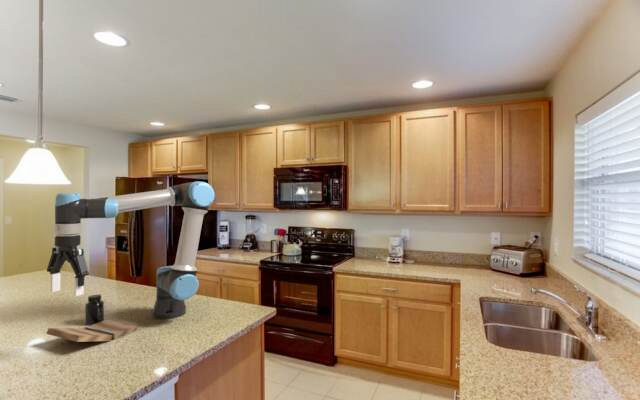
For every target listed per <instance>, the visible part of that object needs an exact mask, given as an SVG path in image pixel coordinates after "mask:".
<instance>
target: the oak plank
mask: <svg viewBox="0 0 640 400" xmlns="http://www.w3.org/2000/svg"><path fill="white" fill-rule="evenodd" d="M46 335H49V336H53V337H56V338H61V339H65V340H68V341H72V342H76V343H79V342H80V343H81V342H87V343H88V342H89V343H90V342H111V341H112V339H111V338H112V335H109V334H105V333H100V332H96V331H92V330H88V329H84V328H80V327H79V328H76V327H73V328H72V327H68V328H67V327H66V328H64V327H62V328H61V327H49V328H48V329H47V332H46Z"/></svg>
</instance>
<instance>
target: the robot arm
mask: <svg viewBox="0 0 640 400" xmlns="http://www.w3.org/2000/svg"><path fill="white" fill-rule="evenodd" d="M214 200H215V190H214V188H213V187H212V186H211V185H210V184H209V183H207V182H205V181H198V180H197V181H193V182H192V181H191V182H189V181H188V182H185V183H181V184H177V185H172V186H167V188H166V189H159V190H152V191H151V190H150V191H144V192H143V191H142V192H135V193H128V194H121V195H114V196H113V195H112V196H106V197H99V198H83V197H82V194H81V193H74V192H73V193H70V192H69V193H65V192H63V193H62V192H60V193H57V194H56V196H55V202H54V204H55V205H54V224H55V225H54V235H56V236H55V237H54V247H52V248H51V249H52V250H51V255H50V258H49V262H48V265H47V268H46V272H47V273H49V274H50V292H51V293H54V292H60V291H61V269H62V268H63V265H64V263H65V262H67V263H68V264H70V266H71V268H72V271H73V272H74V274H75V277H74V292H73V293H74V297H78V296H82V295H84V293H85V290H84V289H85V287H84V286H85V277H86V276H89V275H90V271H89V269H88V268H89V267H88V265H87V261H86V257H85V254H84V252H85V250H84V249H83V248H78V246H80V245H81V237H82V236H81V235H80V234H81V233H82V229H81V228H82V225H81V224H82V221H81V220H82V219H113V218H114V219H115V218H116V217H118V214H119V213H125V212H127V213H128V212H131V211H138V210H145V209H151V208H158V207H163V206H171V207H175V206H176V207H177V206H181V209H182V210H183V213H184V214H183V219H182V225H181V230H180V235H179V239H178V245H177V251H176V256H175V261H174V264H173V265H167V266H161V267H160V266H159V267H158V268H157V269H156V274H155V276H156V289H155V290H156V291H155V292H156V298H155V302H154V305H153V308H152V311H151V317H152V318H155V319H161V320H165V319H166V320H167V319H173V318H174V319H175V318H177V317H181V316H183V315H185V314H186V313H187V305H186V303H185V301H186V300H188V299H191V298H192V297H193V296H194V295H196V293H197V292H198V290H199V286H200V283H199V280H198V278H197V276H198V274H197V273H198V269H197V267H196V260H197V255H198V254H197V253H198V249H199V243H200V238H201V237H200V236H201V231H202V225H203V221H204V216H205V214H207V213H208V212H209V208H210V207H209V206H210V205H211V204H213V202H214Z"/></svg>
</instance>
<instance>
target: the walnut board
mask: <svg viewBox="0 0 640 400" xmlns="http://www.w3.org/2000/svg"><path fill="white" fill-rule="evenodd" d="M83 329H88V330H92V331H96V332H100V333H105V334H109V335H112V338H111V340H113V341H115V340H117V339H120V338H122V337H125V336H126V335H127V336H128V335H129V334H133V333H134V332H136V331H137V330H138V329H137V325H133V324H130V323H125V322H120V321H116V320H111V319H106V320H105V319H104V321H102V322H99V323H96V324H93V325H85V326H84V328H83Z"/></svg>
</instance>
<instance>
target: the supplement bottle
mask: <svg viewBox="0 0 640 400" xmlns="http://www.w3.org/2000/svg"><path fill="white" fill-rule="evenodd" d="M104 305H105V302H104V301H103V300H102V294H92V295H89V296H88V297H87V303H86V304H85V308H84V309H85V313H84V314H85V319H84V321H85V326H91V325H93V324H96V323H99V322H102V321H105V306H104Z"/></svg>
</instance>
